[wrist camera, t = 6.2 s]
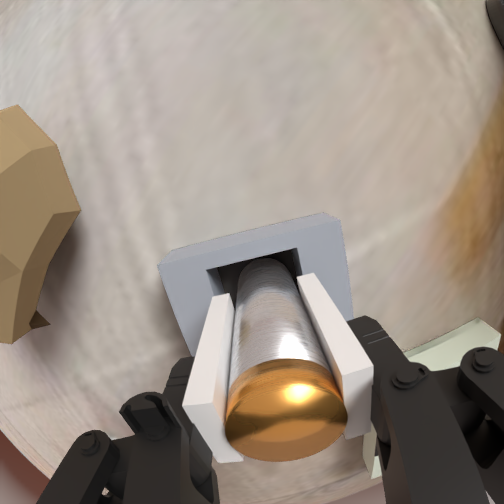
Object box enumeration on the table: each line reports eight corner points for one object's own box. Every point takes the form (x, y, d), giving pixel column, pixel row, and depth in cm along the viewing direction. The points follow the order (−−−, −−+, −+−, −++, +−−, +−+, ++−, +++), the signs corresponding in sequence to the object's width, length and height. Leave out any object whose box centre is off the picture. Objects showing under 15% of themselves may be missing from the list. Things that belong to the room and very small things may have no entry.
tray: (364, 367, 18) (381, 396, 15) (477, 317, 18) (501, 334, 15) (362, 455, 22) (371, 479, 18) (453, 414, 21) (466, 432, 18)
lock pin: (232, 265, 15) (207, 403, 5) (286, 252, 15) (345, 374, 5) (245, 313, 16) (243, 467, 6) (296, 301, 16) (348, 446, 6)
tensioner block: (172, 250, 16) (139, 283, 11) (323, 212, 16) (360, 228, 10) (228, 400, 19) (225, 456, 14) (345, 373, 19) (370, 424, 13)
